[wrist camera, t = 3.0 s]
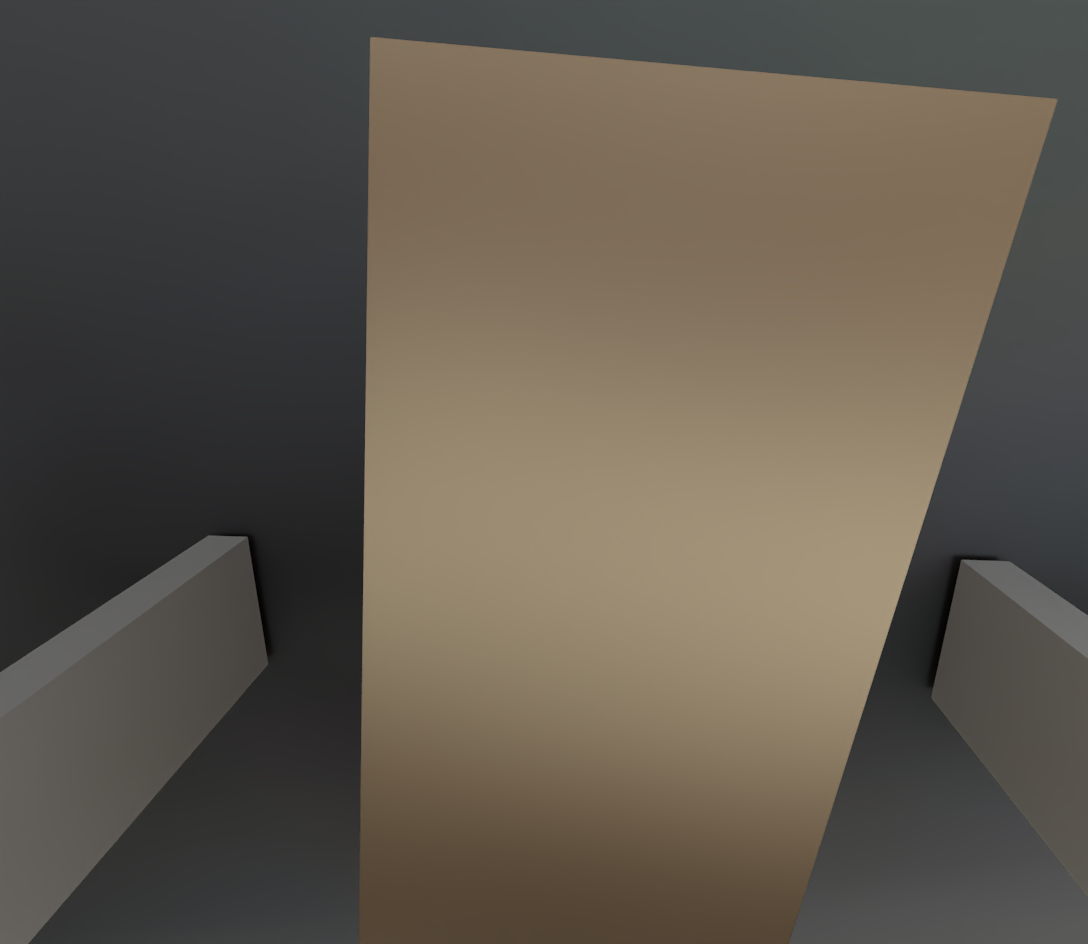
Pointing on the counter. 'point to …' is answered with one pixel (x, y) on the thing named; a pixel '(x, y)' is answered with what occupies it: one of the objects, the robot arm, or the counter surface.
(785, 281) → the tan rectangular block
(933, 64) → the counter surface
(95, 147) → the counter surface
